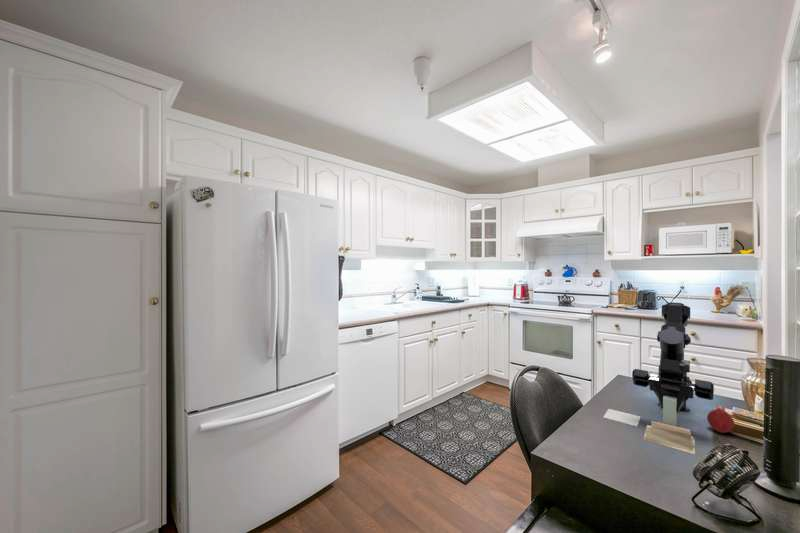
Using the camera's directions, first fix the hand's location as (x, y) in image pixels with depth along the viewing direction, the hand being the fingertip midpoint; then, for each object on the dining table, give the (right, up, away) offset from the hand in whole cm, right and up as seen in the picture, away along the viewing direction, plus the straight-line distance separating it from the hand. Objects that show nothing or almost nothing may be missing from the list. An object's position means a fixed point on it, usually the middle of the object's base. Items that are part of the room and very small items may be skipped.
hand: (669, 409), depth 96 cm
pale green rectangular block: (+1, -7, +1) cm, 7 cm away
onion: (+18, -9, +4) cm, 21 cm away
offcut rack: (-1, -8, -1) cm, 8 cm away
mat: (-5, -8, +13) cm, 16 cm away
